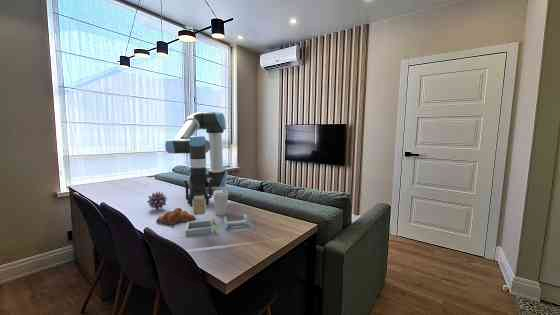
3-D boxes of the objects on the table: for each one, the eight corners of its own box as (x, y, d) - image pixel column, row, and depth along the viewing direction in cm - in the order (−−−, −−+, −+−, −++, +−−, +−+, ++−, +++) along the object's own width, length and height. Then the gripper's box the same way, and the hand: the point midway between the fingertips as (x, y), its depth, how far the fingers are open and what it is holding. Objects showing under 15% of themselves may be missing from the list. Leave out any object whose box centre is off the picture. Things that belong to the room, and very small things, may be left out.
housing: (182, 227, 128) (182, 219, 128) (249, 220, 139) (249, 213, 139) (179, 240, 113) (179, 231, 113) (254, 231, 124) (254, 223, 123)
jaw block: (194, 211, 124) (194, 196, 124) (204, 210, 126) (204, 195, 125) (194, 215, 119) (193, 199, 118) (204, 214, 120) (204, 198, 119)
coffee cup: (225, 218, 142) (224, 193, 141) (210, 217, 144) (209, 192, 143) (231, 213, 152) (231, 189, 150) (217, 211, 153) (217, 188, 152)
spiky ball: (168, 205, 165) (167, 188, 163) (166, 211, 153) (165, 193, 152) (149, 207, 161) (148, 190, 160) (146, 213, 150) (145, 194, 148)
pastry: (166, 230, 125) (166, 215, 124) (155, 222, 136) (154, 208, 135) (196, 221, 138) (196, 208, 137) (184, 215, 148) (183, 202, 147)
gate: (224, 223, 131) (223, 214, 130) (245, 221, 134) (245, 212, 134) (225, 229, 123) (225, 220, 123) (247, 227, 127) (247, 218, 126)
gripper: (178, 168, 114) (179, 216, 116) (217, 167, 119) (218, 212, 121) (179, 166, 121) (181, 211, 123) (216, 165, 126) (217, 208, 128)
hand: (199, 212), depth 122 cm, fingers closed on jaw block, 5 cm apart
